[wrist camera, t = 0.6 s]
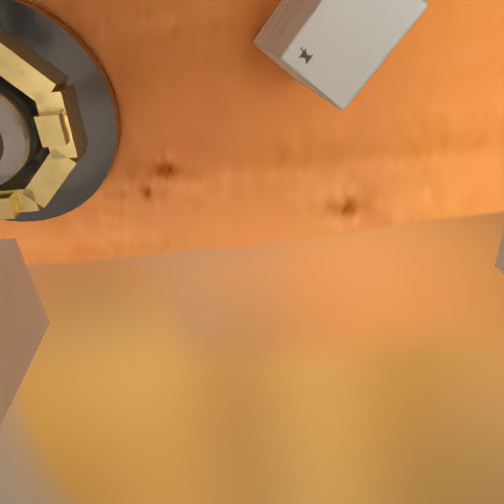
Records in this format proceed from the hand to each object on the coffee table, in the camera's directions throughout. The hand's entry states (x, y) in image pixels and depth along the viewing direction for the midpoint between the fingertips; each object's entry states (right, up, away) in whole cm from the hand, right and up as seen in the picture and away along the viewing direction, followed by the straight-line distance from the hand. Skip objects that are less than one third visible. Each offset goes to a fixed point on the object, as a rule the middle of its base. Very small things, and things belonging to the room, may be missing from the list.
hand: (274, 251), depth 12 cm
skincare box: (+3, +16, +19) cm, 25 cm away
